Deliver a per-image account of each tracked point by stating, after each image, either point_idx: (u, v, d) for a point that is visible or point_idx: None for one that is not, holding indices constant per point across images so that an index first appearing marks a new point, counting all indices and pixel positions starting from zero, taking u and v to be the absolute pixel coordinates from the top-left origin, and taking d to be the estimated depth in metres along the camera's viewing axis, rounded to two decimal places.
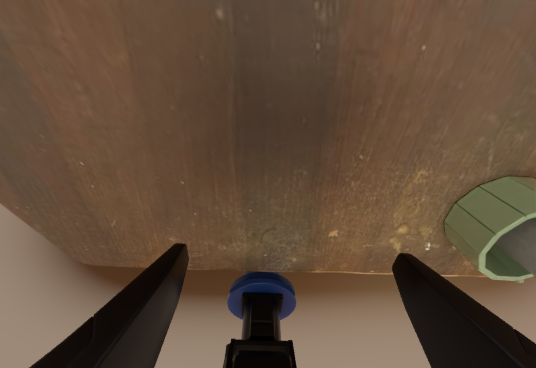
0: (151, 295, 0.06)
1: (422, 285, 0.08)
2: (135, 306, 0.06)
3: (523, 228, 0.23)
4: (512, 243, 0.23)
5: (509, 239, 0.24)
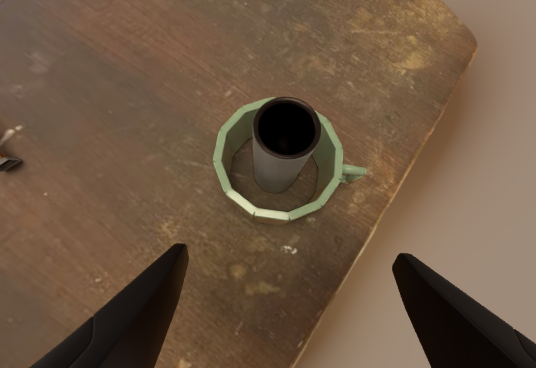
0: (151, 295, 0.06)
1: (423, 285, 0.08)
2: (135, 306, 0.06)
3: (253, 160, 0.20)
4: (263, 175, 0.19)
5: (262, 176, 0.19)
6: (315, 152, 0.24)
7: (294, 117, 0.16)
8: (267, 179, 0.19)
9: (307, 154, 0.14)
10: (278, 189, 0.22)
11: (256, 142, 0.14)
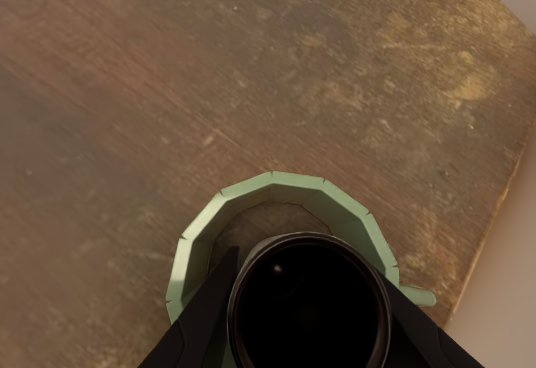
0: (225, 297, 0.06)
1: None
2: (214, 308, 0.06)
3: None
4: None
5: None
6: None
7: (320, 251, 0.08)
8: None
9: None
10: None
11: (236, 364, 0.06)
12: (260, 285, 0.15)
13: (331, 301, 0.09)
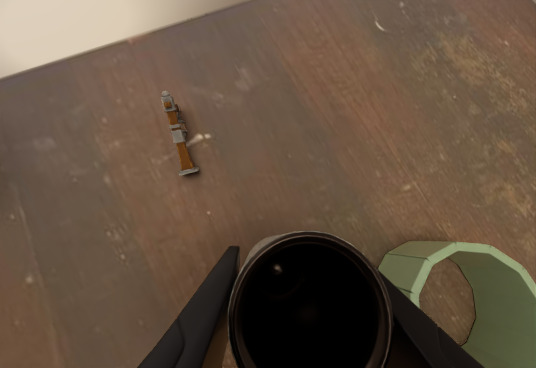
0: (225, 298, 0.06)
1: None
2: (214, 309, 0.06)
3: None
4: None
5: None
6: (486, 304, 0.21)
7: (320, 250, 0.08)
8: None
9: None
10: None
11: (237, 363, 0.06)
12: (260, 284, 0.15)
13: (331, 300, 0.09)
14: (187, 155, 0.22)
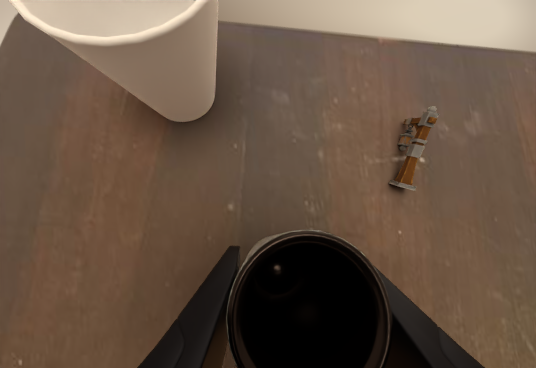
0: (225, 298, 0.06)
1: None
2: (214, 309, 0.06)
3: None
4: None
5: None
6: None
7: (320, 249, 0.08)
8: None
9: None
10: None
11: (236, 362, 0.06)
12: (260, 284, 0.15)
13: (331, 300, 0.09)
14: (412, 171, 0.22)
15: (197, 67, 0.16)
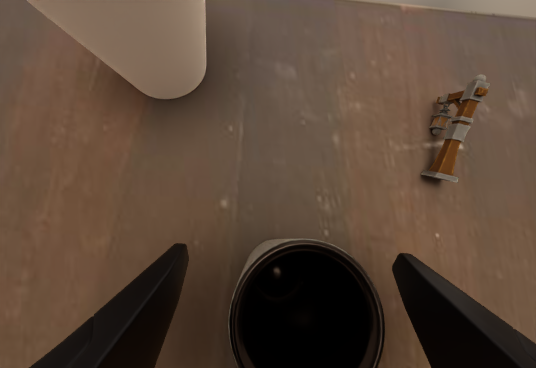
0: (151, 295, 0.06)
1: (423, 285, 0.08)
2: (135, 306, 0.06)
3: None
4: None
5: None
6: None
7: (317, 256, 0.08)
8: None
9: None
10: None
11: (237, 363, 0.06)
12: (259, 287, 0.15)
13: (328, 304, 0.10)
14: (454, 158, 0.17)
15: (175, 8, 0.12)
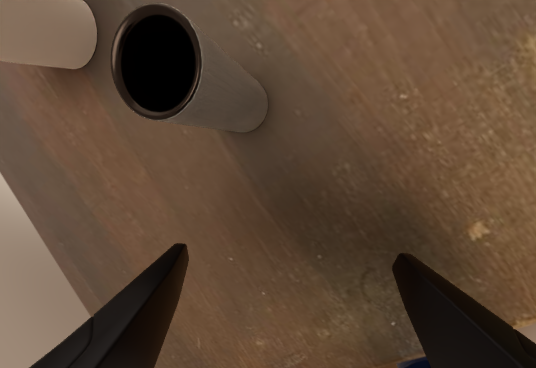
0: (151, 295, 0.06)
1: (422, 285, 0.08)
2: (135, 306, 0.06)
3: None
4: (216, 128, 0.14)
5: (217, 128, 0.15)
6: None
7: (167, 35, 0.10)
8: (224, 128, 0.15)
9: (200, 78, 0.09)
10: (253, 123, 0.17)
11: (143, 116, 0.10)
12: None
13: None
14: None
15: None
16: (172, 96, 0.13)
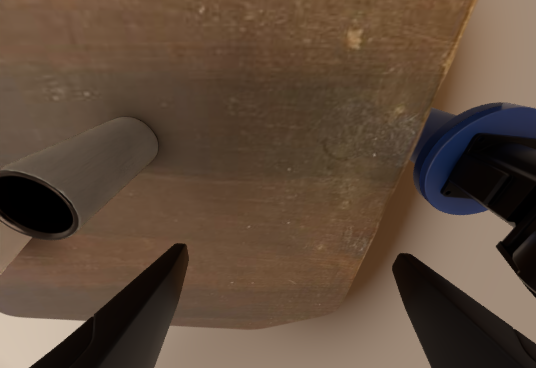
0: (151, 295, 0.06)
1: (423, 285, 0.08)
2: (135, 306, 0.06)
3: None
4: (127, 181, 0.17)
5: (130, 180, 0.17)
6: None
7: (19, 180, 0.12)
8: (132, 175, 0.17)
9: (57, 188, 0.11)
10: (148, 146, 0.18)
11: (70, 235, 0.13)
12: None
13: None
14: None
15: None
16: None
